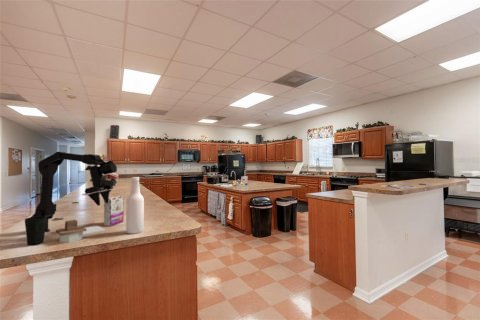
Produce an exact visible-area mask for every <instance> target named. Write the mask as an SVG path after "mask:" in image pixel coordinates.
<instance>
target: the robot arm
mask: <svg viewBox="0 0 480 320" xmlns="http://www.w3.org/2000/svg"><path fill="white" fill-rule="evenodd" d="M64 160H68V161H75V162H81V163H83V164H85V165H87V166H86V168H85V169H84V171H88V172H89V176H90V179H89V182H91V183H92V186H91V187H87V188H85V189H84V194H85V195H87V196H88V197H89V198H90V199H91V200H92V201H93V202H94V203H95V204H96V205H97V206H100V205H101V198H102V200H103V202H104V201H105V202H106V203H108V200H109V198H110V193H111V192H112V191H113V189H114V187H116V184H118V182H117V180H116V178H114V177H111V178H110V179H107V177H106V176H104V175H109V174H113V173H116V172H118V169H117V165H116V163H114V160H108V161H105V160H103V159H102V157H101V155H99V154H90V153H87V154H79V153H70V152H65V151H56V152H54V153H53V154H50V155H49V156H47V157H45V158H44V159H41V160H40V161H39V162H38V172H39V173H40V175H41V185H40V198H39V199H40V200H39V203H38V204H37V206H36V207H35V211H34V213H33V214H32V215H31V216H30V217H37V216H46V217H47V219H46V227H45V233H46V232H50V231H51V229H50V228H49V220H50V219H53V217H54V215H55V214H56V212H57V204H56V203H54V202H53V192H54V176H55V174H56V173H57V172H58V168H59V167H60V165H62V164H63V162H64ZM100 195H101V197H100Z"/></svg>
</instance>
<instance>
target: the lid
mask: <svg viewBox="0 0 480 320" xmlns="http://www.w3.org/2000/svg"><path fill="white" fill-rule="evenodd" d="M83 231H86V228H85V227H84V226H82V225H78V220H76V219H70V220H66V221H64V228H59V229H55V233H57V234H58V236H59V235H61V236H63V235H68V234H73V233H78V232H83Z"/></svg>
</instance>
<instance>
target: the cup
mask: <svg viewBox="0 0 480 320" xmlns="http://www.w3.org/2000/svg"><path fill="white" fill-rule="evenodd" d="M46 219H47V217H46V216H37V217H31V216H30V217H26V218H24V227H25V228H24V229H25V235H26V236H25V237H26V245H27V246H29V247H34V246H38V245H42V244H43V243H44V241H45V233H46V232H45V227H46Z"/></svg>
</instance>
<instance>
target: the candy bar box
mask: <svg viewBox="0 0 480 320" xmlns="http://www.w3.org/2000/svg"><path fill="white" fill-rule="evenodd" d="M103 209H104V211H103V214H104V215H103V219H104V220H103V222H104V223H103V224H104V225H103V226H105V227H112V226H115V225H118V224H120V223H123V222H124V195H123V196H118V195H117V196H114V197H109V200H108V203H106V202H105V201H104V200H103Z"/></svg>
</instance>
